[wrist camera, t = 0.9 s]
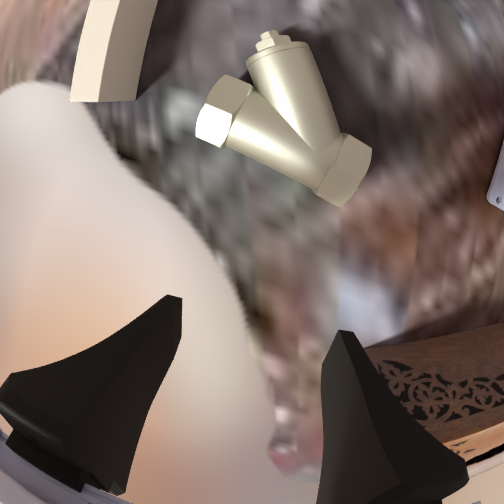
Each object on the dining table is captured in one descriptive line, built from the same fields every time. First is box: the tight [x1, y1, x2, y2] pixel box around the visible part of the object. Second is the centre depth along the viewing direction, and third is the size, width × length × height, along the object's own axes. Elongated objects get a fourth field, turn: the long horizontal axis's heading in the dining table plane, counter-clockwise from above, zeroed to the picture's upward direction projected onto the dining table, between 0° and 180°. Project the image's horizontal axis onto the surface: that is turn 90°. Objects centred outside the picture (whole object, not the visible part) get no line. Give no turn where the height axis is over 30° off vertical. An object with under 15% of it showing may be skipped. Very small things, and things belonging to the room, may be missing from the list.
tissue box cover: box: [363, 321, 504, 478], centre depth 18 cm, size 26×14×10 cm, turn 99°
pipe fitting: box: [196, 30, 372, 207], centre depth 13 cm, size 8×4×7 cm
